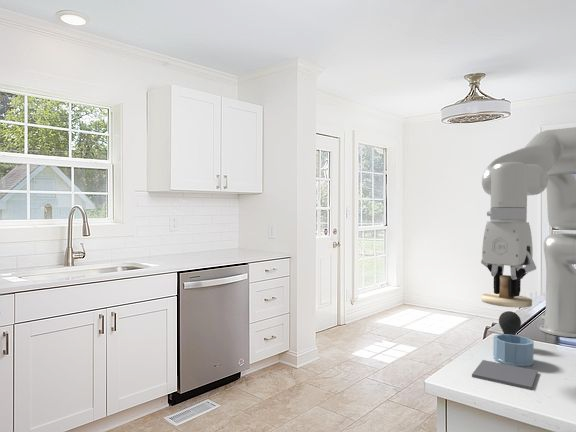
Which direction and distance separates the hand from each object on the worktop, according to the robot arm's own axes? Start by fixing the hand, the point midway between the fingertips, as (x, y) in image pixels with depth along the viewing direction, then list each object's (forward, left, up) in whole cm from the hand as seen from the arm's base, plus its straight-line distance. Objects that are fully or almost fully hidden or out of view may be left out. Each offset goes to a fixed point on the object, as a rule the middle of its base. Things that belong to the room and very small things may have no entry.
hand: (506, 294), depth 100 cm
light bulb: (-21, +14, -19) cm, 31 cm away
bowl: (-10, +8, -19) cm, 22 cm away
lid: (0, 0, -2) cm, 2 cm away
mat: (0, 0, -19) cm, 19 cm away
